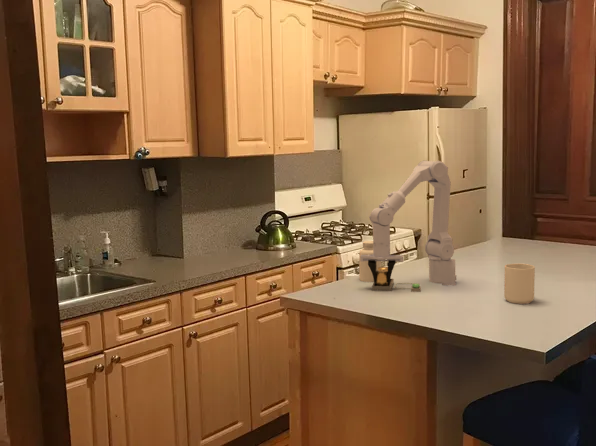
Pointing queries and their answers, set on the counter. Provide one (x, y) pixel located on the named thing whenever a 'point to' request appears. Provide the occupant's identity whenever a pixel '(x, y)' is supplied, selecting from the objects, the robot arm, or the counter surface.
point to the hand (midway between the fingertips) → (382, 282)
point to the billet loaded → (383, 268)
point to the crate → (383, 288)
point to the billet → (382, 278)
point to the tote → (403, 283)
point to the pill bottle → (366, 263)
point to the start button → (415, 285)
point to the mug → (519, 283)
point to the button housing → (415, 289)
